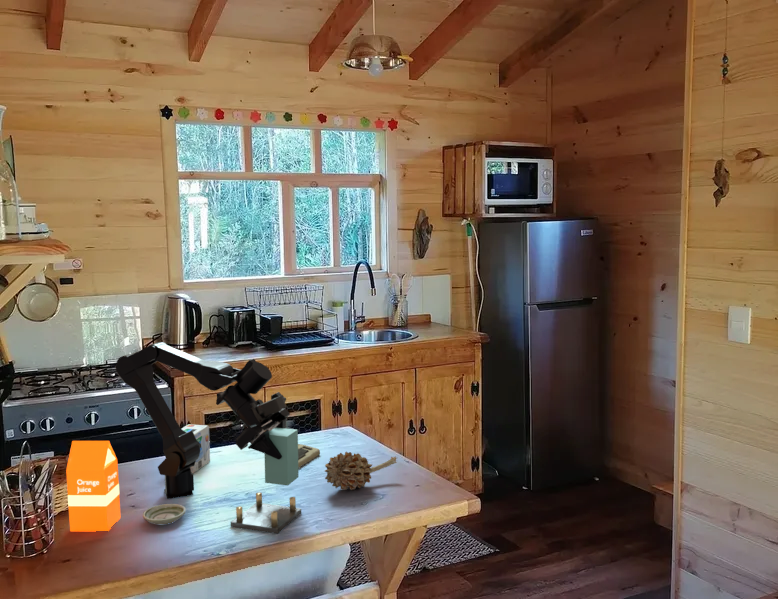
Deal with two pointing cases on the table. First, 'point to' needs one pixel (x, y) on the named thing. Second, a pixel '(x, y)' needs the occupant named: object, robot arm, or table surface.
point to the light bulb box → (203, 438)
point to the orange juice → (92, 486)
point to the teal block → (283, 457)
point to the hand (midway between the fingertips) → (286, 454)
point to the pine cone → (351, 470)
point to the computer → (306, 454)
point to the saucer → (164, 513)
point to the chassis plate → (266, 516)
